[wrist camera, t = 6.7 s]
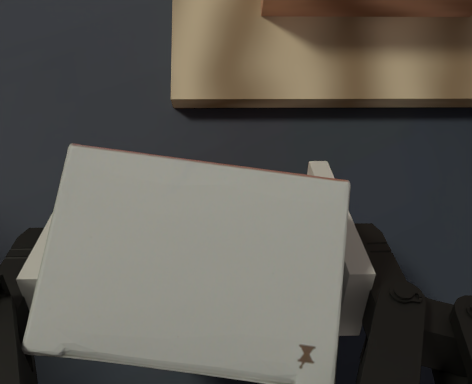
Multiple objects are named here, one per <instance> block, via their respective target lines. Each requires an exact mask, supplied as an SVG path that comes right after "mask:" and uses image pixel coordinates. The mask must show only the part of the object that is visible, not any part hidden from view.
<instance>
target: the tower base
mask: <svg viewBox="0 0 472 384" xmlns="http://www.w3.org/2000/svg"><path fill="white" fill-rule="evenodd" d="M171 101H172V105H173V108H367V107H472V0H173V8H172V63H171Z"/></svg>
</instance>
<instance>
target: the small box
mask: <svg viewBox="0 0 472 384" xmlns="http://www.w3.org/2000/svg"><path fill="white" fill-rule="evenodd" d="M350 188H351V187H350V182H349V181H348V180H342V179H334V178H327V177H319V176H312V175H304V174H296V173H289V172H281V171H273V170H265V169H258V168H251V167H243V166H236V165H228V164H220V163H213V162H205V161H198V160H190V159H183V158H175V157H167V156H160V155H153V154H145V153H138V152H131V151H124V150H116V149H108V148H100V147H93V146H85V145H79V144H74V143H72V144H70V145H69V147H68V151H67V156H66V160H65V164H64V168H63V173H62V177H61V181H60V185H59V189H58V194H57V198H56V202H55V206H54V210H53V215H52V219H51V223H50V227H49V232H48V236H47V240H46V244H45V249H44V253H43V257H42V261H41V266H40V270H39V274H38V278H37V283H36V287H35V291H34V296H33V300H32V304H31V309H30V313H29V317H28V322H27V326H26V330H25V335H24V338H23V342H22V351H23V353H24V354H28V355H38V356H51V357H66V358H76V359H85V360H94V361H103V362H111V363H118V364H125V365H133V366H140V367H147V368H155V369H163V370H171V371H178V372H186V373H193V374H200V375H207V376H214V377H221V378H228V379H235V380H242V381H249V382H255V383H261V384H335V382H336V368H337V355H338V342H339V328H340V314H341V301H342V287H343V275H344V262H345V249H346V236H347V223H348V210H349V197H350Z"/></svg>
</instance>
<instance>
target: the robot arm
mask: <svg viewBox="0 0 472 384" xmlns="http://www.w3.org/2000/svg"><path fill="white" fill-rule="evenodd" d="M307 175H312V176H319V177H327V178H334V176H333V174H332V171H331V169H330V167H329V164H328V162H327V161H309V165H308V173H307ZM334 179H335V178H334ZM52 215H53V213H52ZM52 215H51V217H50V219H49V220H48V222H47V224H46V226H45V228H29V229H27V230H26V231H25V232H24V233H22V234H21V235H20V236H19V237H18V238H17V239H16V241H15V242H14V244H13V246H12V247H11V250H10V251H9V252H8V254H7V255H6V259H4V260H3V262H2V264H1V265H0V384H38V381H37V374H36V367H35V359H34V355H28V354H24V353H23V351H22V342H23V338H24V335H25V330H26V326H27V322H28V317H29V313H30V309H31V304H32V300H33V296H34V291H35V287H36V283H37V278H38V274H39V270H40V266H41V261H42V257H43V253H44V249H45V244H46V240H47V236H48V232H49V227H50V223H51V219H52ZM362 324H363V327H364V330H365V333H366V339H365V342H364V346H363V349H362V353H361V356H360V359H361V360H360V365H359V370H358V375H357V379H356V384H420V371H421V366H425V367H429V368H432V373H433V377H434V381H435V384H472V296H462V297H460V298H458V299H457V300H456V302H455V304H454V305H452V304H448V303H444V302H439V301H435V300H432V299H428V298H426V297H425V296H424V294H423V293H422V292H421V290H420V289H419V288H417V287H416V286H415V285H413V284H411V283H409V282H407V281H406V279H405V277H404V275H403V273H402V271H401V269H400V267H399V265H398V263H397V261H396V259H395V257H394V255H393V253H391V249H390V247H389V245H388V244H387V241H386V239H385V237H384V235H383V234H382V232H381V231H380V230H379V229H378V228H376V227H375V226H374V225H373V224H372V223H371V224H354V222H353V220H352V218H351V215H350V213H349V211H348V223H347V236H346V249H345V262H344V275H343V287H342V301H341V314H340V328H339V336H359V335H360V331H361V327H362Z"/></svg>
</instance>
